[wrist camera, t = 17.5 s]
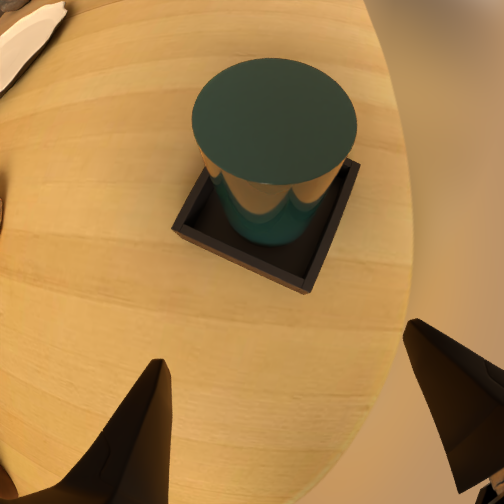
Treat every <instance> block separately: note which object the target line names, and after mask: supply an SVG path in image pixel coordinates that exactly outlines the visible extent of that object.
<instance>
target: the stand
mask: <svg viewBox="0 0 504 504" xmlns="http://www.w3.org/2000/svg"><path fill="white" fill-rule="evenodd" d="M0 497H1V498H3V499H15V498H18V493H17V490H16V488H15V486H14V484H13V482H12V480H11V479H10V477H9V475H8V474H7V473H6V471H5V470H4V469H3V467H2V466H1V465H0Z"/></svg>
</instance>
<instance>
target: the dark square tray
mask: <svg viewBox="0 0 504 504" xmlns="http://www.w3.org/2000/svg"><path fill="white" fill-rule="evenodd" d="M359 168H360V164H359V163H357V162H355V161H352V160H350V159H348V158H346V160H345V162H344V164H343V166H342V167H341V169H340V171H339V173H338V175H337V177H336V178H335V180H334V182H333V184H332V186H331V188H330V189H329V191H328V193H327V195H326V197H325V198H324V200H323V202H322V204H321V206H320V207H319V209H318V211H317V213H316V214H315V216H314V218H313V220H312V222H311V223H310V225H309V227H308V228H307V230H306V231H305V232H304V233H303V234H302V235H301V236H300V237H299V238H298V239H297V240H295V241H293V242H292V243H290V244H287V245H285V246H281V247H275V248H264V247H259V246H255V245H252V244H250V243H248V242H246V241H244V240H243V239H241V238H240V237H239V236H238V235H237V234H236V233H235V232H234V231H233V230H232V228H231V227H230V225H229V223H228V221H227V219H226V216H225V214H224V211H223V209H222V206H221V204H220V201H219V198H218V196H217V193H216V191H215V188H214V186H213V183H212V181H211V178H210V176H209V173H208V170H207V168H206V166H205V168H204V169H203V171H202V173H201V174H200V176H199V178H198V180H197V181H196V183H195V185H194V187H193V189H192V190H191V192H190V194H189V196H188V198H187V199H186V201H185V203H184V205H183V207H182V209H181V211H180V212H179V214H178V216H177V218H176V220H175V222H174V224H173V226H172V228H171V229H172V230H173V231H174V232H175V233H177V234H178V235H179V236H180V237H181V238H182V239H185V240H187V241H189V242H191V243H193V244H195V245H197V246H199V247H201V248H204V249H206V250H208V251H210V252H212V253H214V254H216V255H218V256H221V257H223V258H225V259H227V260H229V261H231V262H233V263H236V264H238V265H240V266H242V267H244V268H246V269H248V270H251V271H253V272H255V273H257V274H259V275H261V276H264V277H266V278H268V279H270V280H272V281H275V282H277V283H279V284H281V285H283V286H285V287H288V288H290V289H292V290H294V291H296V292H299V293H301V294H303V295H305V294H308V293H310V292H311V290H312V288H313V286H314V284H315V281H316V279H317V277H318V274H319V272H320V270H321V267H322V265H323V262H324V260H325V258H326V255H327V253H328V250H329V248H330V245H331V243H332V240H333V238H334V235H335V233H336V230H337V228H338V225H339V223H340V220H341V218H342V215H343V212H344V210H345V207H346V204H347V202H348V199H349V196H350V194H351V191H352V188H353V185H354V182H355V180H356V177H357V174H358V171H359Z"/></svg>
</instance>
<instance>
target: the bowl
mask: <svg viewBox="0 0 504 504" xmlns="http://www.w3.org/2000/svg"><path fill="white" fill-rule="evenodd" d="M29 1H30V0H0V10H1V11H3V12H10V11H15V10H18V9H20V8H21V7H23V6H24V5H25V4H26V3H27V2H29Z"/></svg>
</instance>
